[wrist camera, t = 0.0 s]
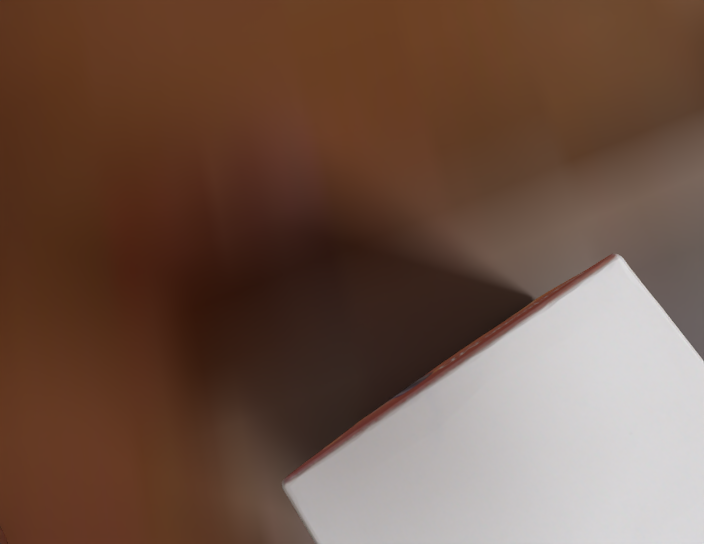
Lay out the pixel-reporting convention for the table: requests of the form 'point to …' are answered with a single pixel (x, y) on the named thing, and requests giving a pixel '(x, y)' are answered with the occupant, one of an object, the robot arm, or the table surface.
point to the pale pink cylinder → (2, 537)
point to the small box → (530, 434)
